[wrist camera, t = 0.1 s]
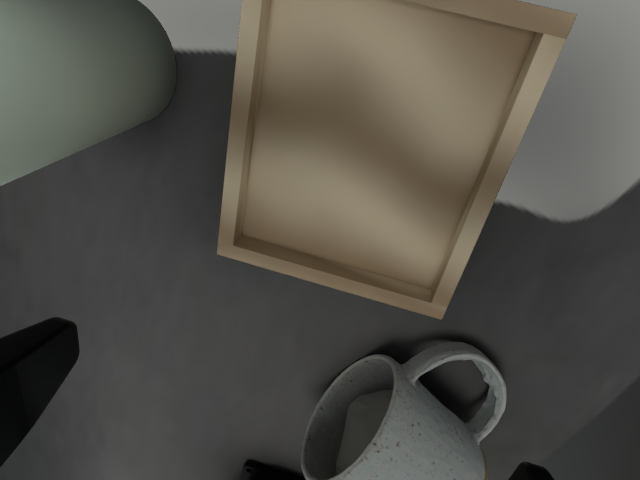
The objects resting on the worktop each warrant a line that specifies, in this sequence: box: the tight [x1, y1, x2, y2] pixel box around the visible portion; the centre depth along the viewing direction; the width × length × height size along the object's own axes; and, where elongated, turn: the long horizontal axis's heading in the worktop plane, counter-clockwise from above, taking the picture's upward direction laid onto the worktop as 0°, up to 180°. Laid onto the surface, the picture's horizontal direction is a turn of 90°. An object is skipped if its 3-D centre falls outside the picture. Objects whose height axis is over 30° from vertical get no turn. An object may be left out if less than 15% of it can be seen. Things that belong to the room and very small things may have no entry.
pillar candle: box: [0, 0, 177, 186], centre depth 16 cm, size 6×6×13 cm
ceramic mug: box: [301, 342, 507, 480], centre depth 24 cm, size 11×8×8 cm
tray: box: [217, 0, 577, 320], centre depth 20 cm, size 14×12×2 cm
